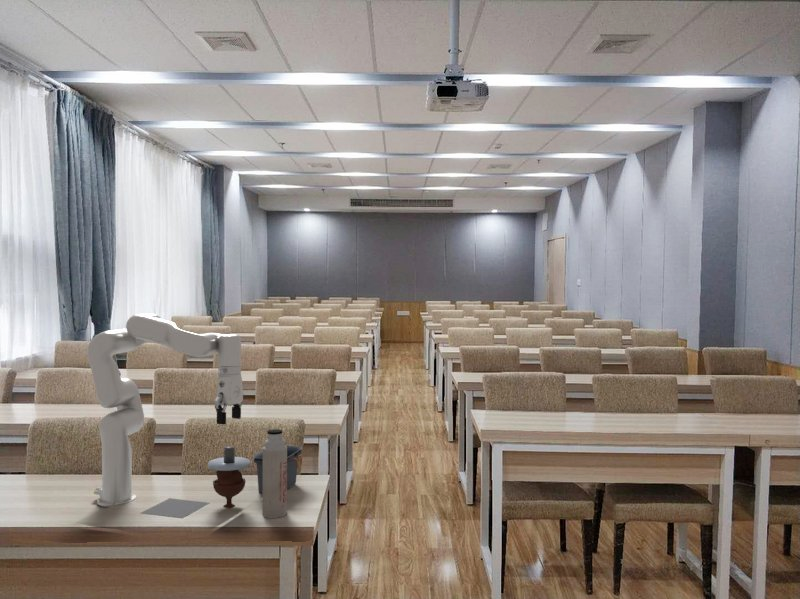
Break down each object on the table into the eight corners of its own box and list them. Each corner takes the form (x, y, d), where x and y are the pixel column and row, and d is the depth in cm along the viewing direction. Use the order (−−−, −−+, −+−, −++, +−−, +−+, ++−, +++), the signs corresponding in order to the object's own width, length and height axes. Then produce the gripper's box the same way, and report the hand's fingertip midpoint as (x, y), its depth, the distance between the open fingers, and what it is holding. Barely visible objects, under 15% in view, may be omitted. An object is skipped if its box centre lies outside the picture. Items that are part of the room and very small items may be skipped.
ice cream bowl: (226, 516, 220) (227, 471, 220) (205, 509, 227) (206, 465, 226) (252, 508, 228) (252, 464, 228) (231, 501, 235) (231, 459, 235)
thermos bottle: (291, 512, 224) (292, 429, 224) (275, 519, 217) (275, 433, 217) (273, 508, 228) (274, 426, 228) (257, 515, 222) (257, 430, 221)
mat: (140, 516, 220) (140, 513, 220) (169, 501, 235) (169, 498, 235) (182, 521, 215) (182, 518, 215) (209, 505, 231) (209, 502, 231)
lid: (199, 468, 222) (199, 450, 222) (221, 458, 236) (221, 441, 236) (237, 472, 219) (237, 454, 218) (257, 461, 232) (257, 444, 232)
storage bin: (272, 480, 262) (272, 443, 261) (309, 482, 258) (310, 445, 258) (249, 496, 241) (249, 457, 240) (289, 500, 238) (290, 459, 237)
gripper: (226, 374, 217) (225, 427, 218) (251, 368, 234) (251, 417, 234) (205, 373, 219) (205, 425, 220) (232, 367, 236) (232, 415, 236)
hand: (228, 421), depth 227 cm, fingers open, 9 cm apart
